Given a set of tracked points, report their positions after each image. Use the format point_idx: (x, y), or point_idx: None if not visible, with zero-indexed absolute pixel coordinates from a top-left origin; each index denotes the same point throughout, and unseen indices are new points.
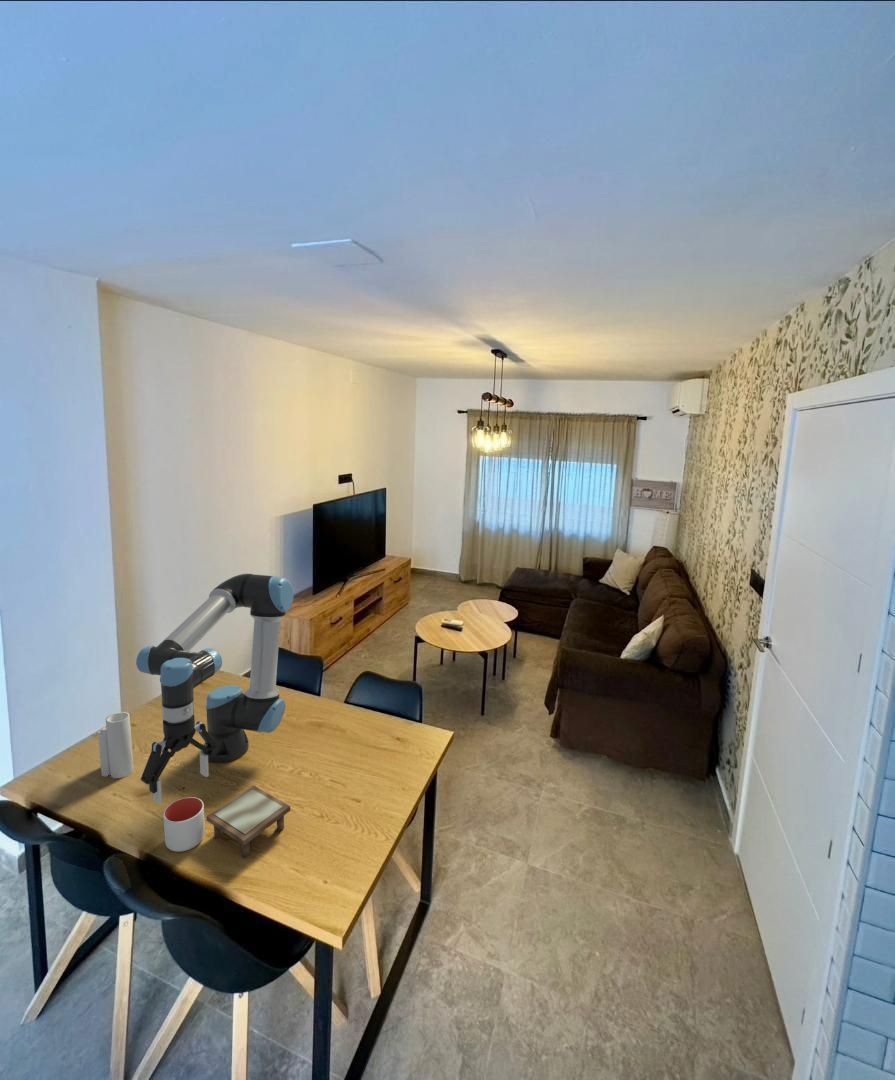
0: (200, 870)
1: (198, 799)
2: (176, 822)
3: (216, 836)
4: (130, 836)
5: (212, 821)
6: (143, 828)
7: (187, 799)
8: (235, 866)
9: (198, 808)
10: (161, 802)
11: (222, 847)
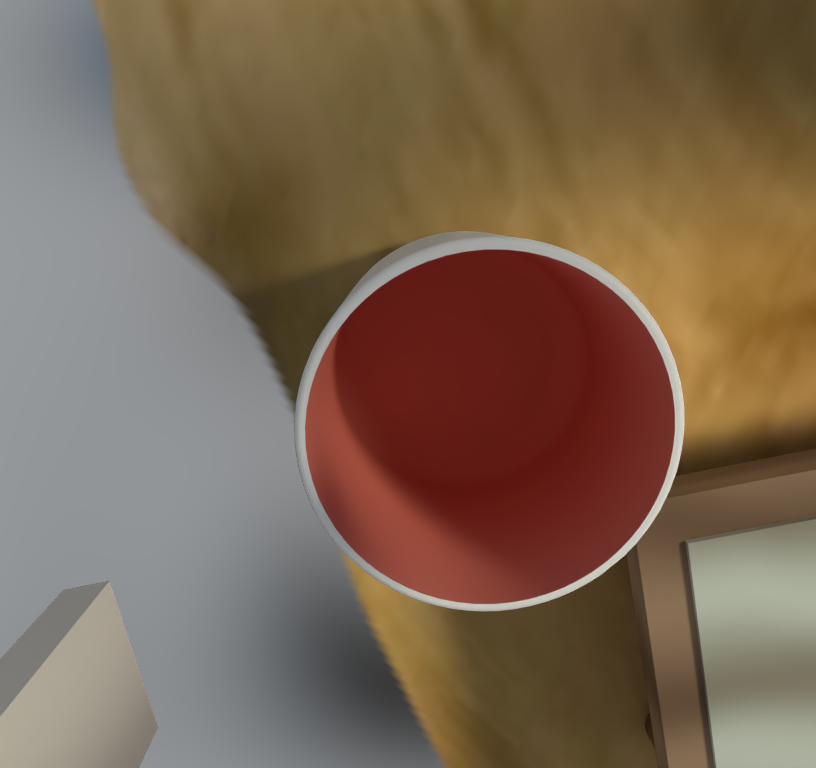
0: (424, 658)
1: (669, 386)
2: (362, 567)
3: None
4: (172, 33)
5: (636, 576)
6: (273, 9)
7: (591, 278)
8: (580, 755)
9: (630, 357)
10: (149, 730)
11: (601, 581)
